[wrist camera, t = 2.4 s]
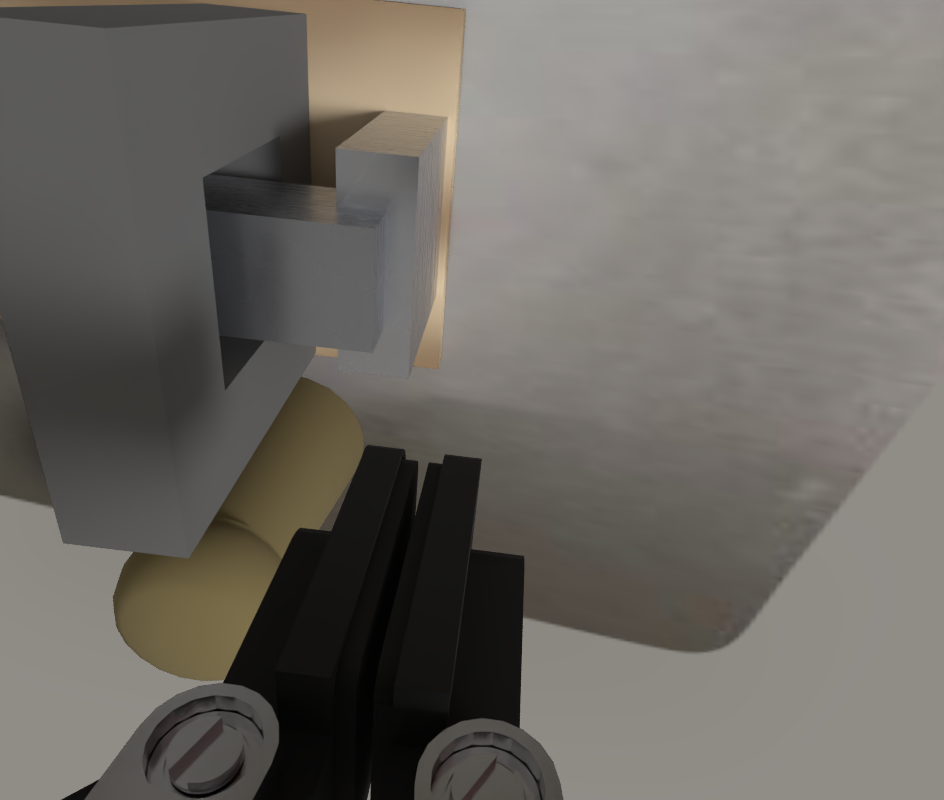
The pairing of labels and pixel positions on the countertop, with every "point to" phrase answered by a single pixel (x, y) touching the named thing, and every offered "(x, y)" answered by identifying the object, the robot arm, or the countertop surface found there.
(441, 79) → the board
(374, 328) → the grey blocky piece
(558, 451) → the countertop surface
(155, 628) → the cork
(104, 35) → the slotted grey block
